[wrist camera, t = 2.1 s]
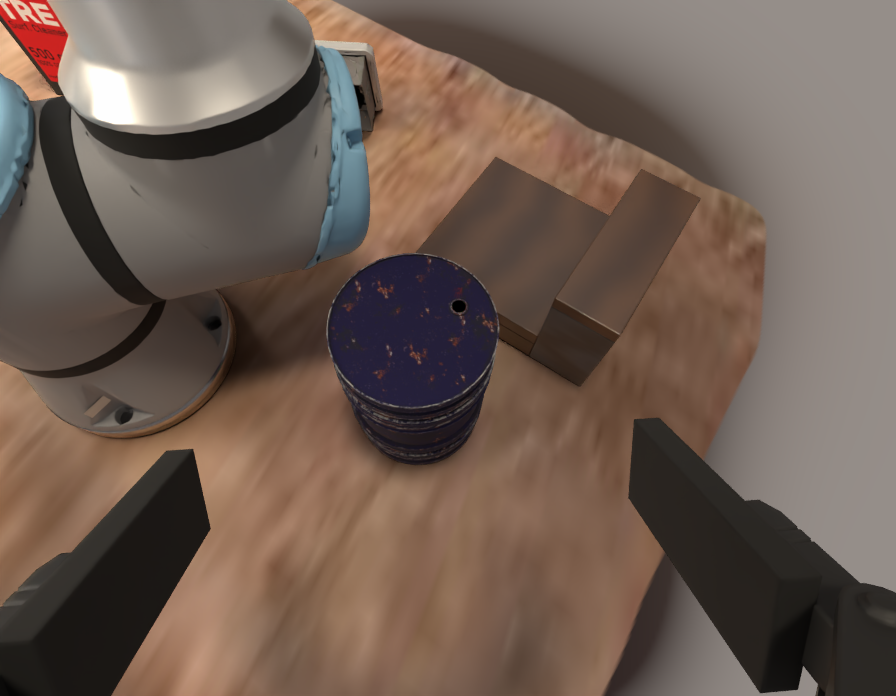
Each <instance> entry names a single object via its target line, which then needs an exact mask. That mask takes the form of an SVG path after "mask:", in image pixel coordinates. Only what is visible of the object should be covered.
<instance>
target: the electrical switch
mask: <svg viewBox="0 0 896 696" xmlns="http://www.w3.org/2000/svg"><path fill="white" fill-rule="evenodd" d="M314 41H315V45H318V47H319V46H321V45H322V46H324V47H325V48H333V49H335V50H337V51H338V52H339V53H340V54H341V55H342V57H343V58H344V60H345V62H346V65H347V67H348V70H349V72H350V75H351V78H352V81H353V85H354V89H355V93H356V97H357V102H358V106H359V111H360V116H361V128H362V131H372V129H373V119H374V118H375V117H374V112H375V111H379V110H380V109H382V96H381V91H380V85H379V80H378V74H377V68H376V63H375V57H374V52H373V47H371V46H370V45H369V44H367V43H356V42H338V41H320V40H314ZM362 110H363V111H362ZM365 117H366V118H365Z"/></svg>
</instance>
